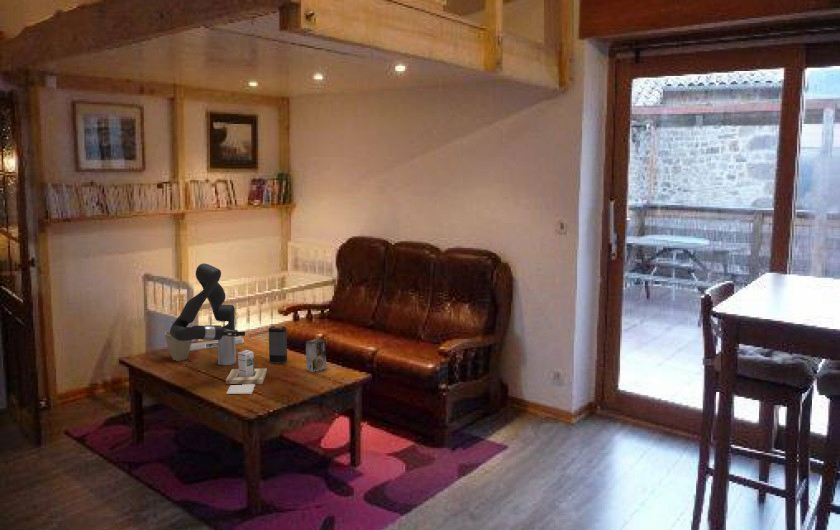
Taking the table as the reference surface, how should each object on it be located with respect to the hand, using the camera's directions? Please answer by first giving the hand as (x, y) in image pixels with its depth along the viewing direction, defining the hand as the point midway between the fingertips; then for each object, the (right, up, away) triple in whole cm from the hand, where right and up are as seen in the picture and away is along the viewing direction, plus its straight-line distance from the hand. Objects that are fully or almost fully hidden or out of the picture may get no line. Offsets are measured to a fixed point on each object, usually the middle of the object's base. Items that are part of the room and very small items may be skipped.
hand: (241, 332), depth 347 cm
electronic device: (+14, -19, +27) cm, 36 cm away
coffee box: (+37, -22, +15) cm, 45 cm away
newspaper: (-32, -14, +60) cm, 70 cm away
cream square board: (+3, -24, -1) cm, 24 cm away
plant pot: (-43, -18, +31) cm, 56 cm away
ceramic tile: (+5, -26, -19) cm, 33 cm away
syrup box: (+3, -24, -1) cm, 24 cm away
